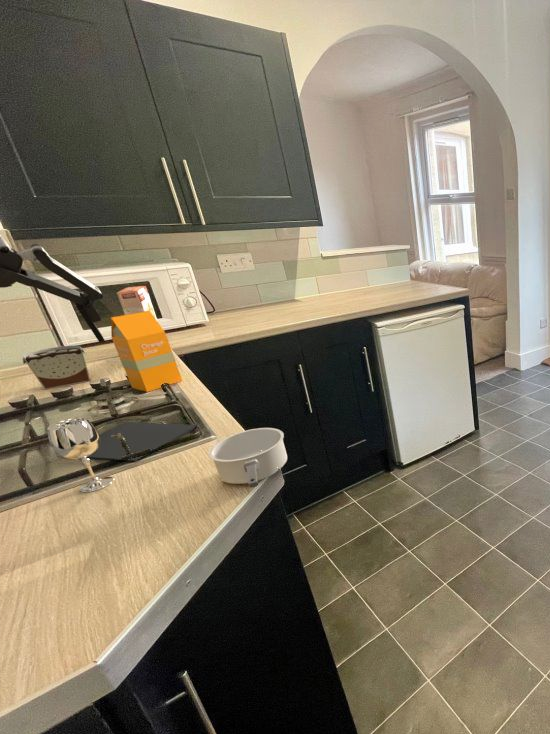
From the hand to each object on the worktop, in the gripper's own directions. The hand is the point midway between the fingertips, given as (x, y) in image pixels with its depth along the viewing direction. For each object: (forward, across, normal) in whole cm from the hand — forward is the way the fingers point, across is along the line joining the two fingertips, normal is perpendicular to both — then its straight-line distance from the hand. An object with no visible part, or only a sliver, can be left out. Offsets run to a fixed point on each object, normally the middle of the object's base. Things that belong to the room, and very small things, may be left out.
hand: (47, 352), depth 68 cm
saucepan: (+16, +15, -32) cm, 39 cm away
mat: (+26, +2, +3) cm, 26 cm away
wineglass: (+20, -4, -12) cm, 24 cm away
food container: (+43, -6, +60) cm, 74 cm away
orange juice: (+38, +11, +38) cm, 55 cm away
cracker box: (+55, +16, +84) cm, 102 cm away
